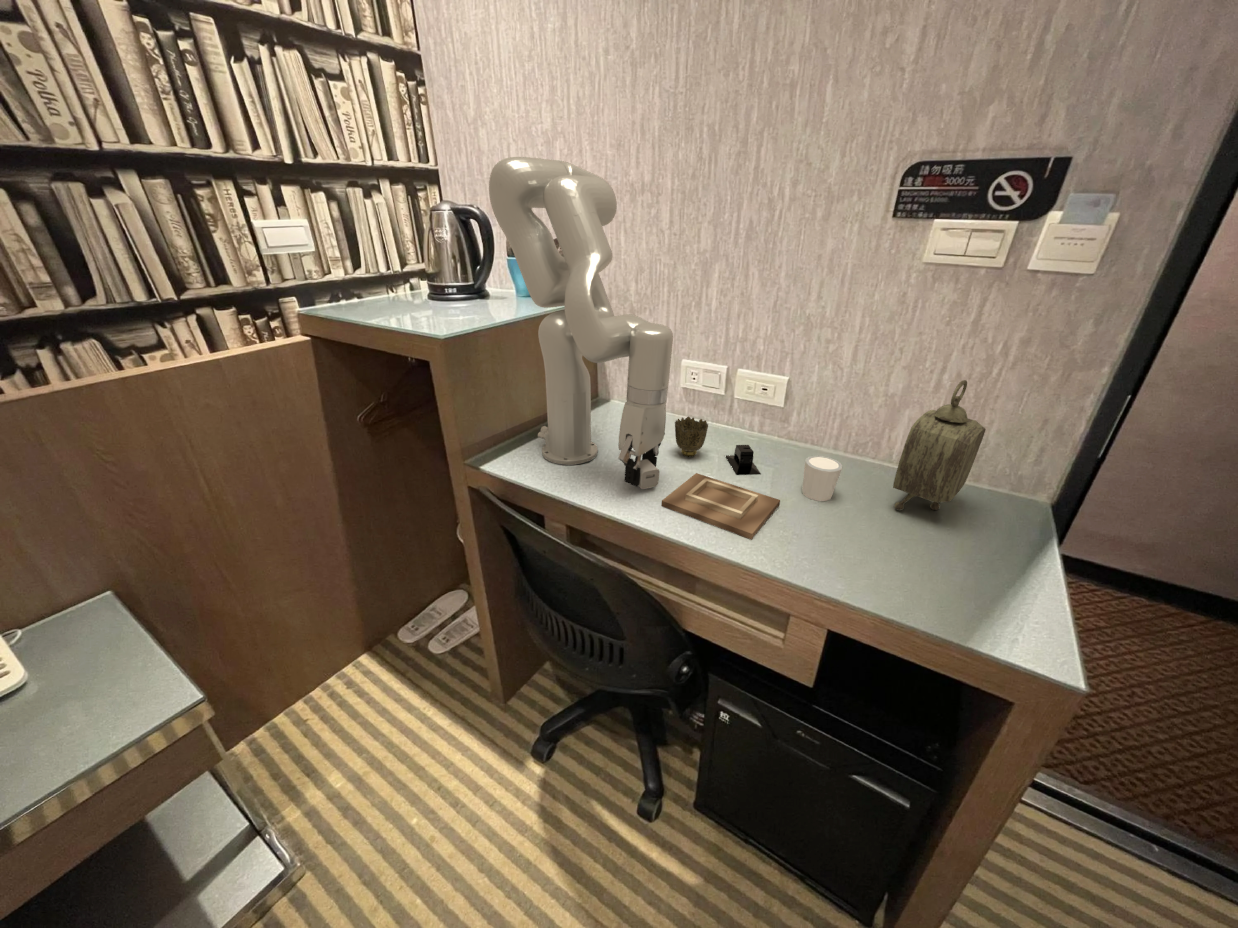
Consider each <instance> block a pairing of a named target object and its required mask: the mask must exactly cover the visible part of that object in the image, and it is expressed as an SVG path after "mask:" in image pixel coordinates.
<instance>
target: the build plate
mask: <svg viewBox="0 0 1238 928" xmlns="http://www.w3.org/2000/svg"><path fill="white" fill-rule="evenodd" d="M754 452H755V451H754V450H753V449H752V448H751V446H750V444H736V445H735V448H734V454H733V455H732V454H731V455H730V456H729V455H727V454H725V455H726V457H725V459H726V461H727V462H728V464H729V466H730V467H731V466H732V467H731V469H732V468H733V469H732V470H733V472H734V474H735V475H736V476H751V475H762V473H761V472H760V471H759V469H758V468H757V466H756V465H755V463H754V462H753V461H754ZM727 459H728V460H727Z"/></svg>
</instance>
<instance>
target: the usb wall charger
mask: <svg viewBox="0 0 1238 928" xmlns="http://www.w3.org/2000/svg"><path fill="white" fill-rule="evenodd" d="M638 468H641V469H640V482H639V486H638V487H640V489H641V490H645V489H651V488H654V487H655V488H656V487H658V485H659V480H660V479H659V478H660V472H661V471H660V469H659V468H657V466H656V467H655V466H654V465H653V464H652V463H651V462H650V461H649V460H648V459H645V460H642V459H641V460H640V464H639V467H638Z"/></svg>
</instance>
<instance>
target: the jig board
mask: <svg viewBox="0 0 1238 928" xmlns="http://www.w3.org/2000/svg"><path fill="white" fill-rule="evenodd" d="M780 503H781V499H779V498H775V497H772V496H770V495H769V496H768V495H766V494H763V493H760V492H756V491H753V490H750V489H747V488H744V487H741V486H738V485H735V484H732V483H729V482H726V481H722V480H719V479H716V478H713V477H709V476H706V475H704V474H701V473H698V472H695V473H694V474H693V475H692V476H691V477H689V478H687V480H685V481H684V482H683V483H682V484H681V485H679V486H678V487H677V488H675V490H673V491H672V492H670V494H668V495H667V496H666V497H664V498H663V499H662V500H661V507H663V508H665V509H668V510H671V511H674V512H676V513H679V514H681V515H684V516H687V517H689V518H692V519H694V520H697V521H701V522H703V523H706V524H709V525H711V526H712V527H713V526H714V527H716V528H719V529H721V530H725V531H727V532H730V533H733V534H735V535H738V536H741V537H743V538H746V539H748V540H752V539H753V538H754V537H755V536H756V535H757V533H758V532H759V531H760V530H761V528H762V527H763V526H764V525H765V523H766V522H767V521H768V520H769V519H770V518H771V516H772V515H773V514H774V513H775V512H776V510H777V509H778V508H779V507H780Z"/></svg>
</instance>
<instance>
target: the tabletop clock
mask: <svg viewBox="0 0 1238 928" xmlns="http://www.w3.org/2000/svg"><path fill="white" fill-rule="evenodd" d="M962 386H963V387H962ZM961 388H962V390H961V392H960V394H959V396H958V395H957V394H958V393H959V390H960V389H961ZM967 388H968V381H967V379H963V380H961V381H960V382H959V383H958V384H957V385H956V388H955V389H954V391H953V393H952V396H951V399H950V404H943V405H942V406H939V408H937V409H930V410H928V411H926V412H925V413H923V414H921V416H920V417H919V418H917V420H916V421H914V423H913V424H912V426H911V428H910V430H909V433H908V435H907V438H906V441H905V443H904V446H903V449H902V452H901V456H900V459H899V462H898V465H897V469H896V472H895V475H894V480H893V485H892V486H893V487H892V488H893V489H894V490H895V489H896V490H898V491H902V492H903V493H906V494H907V495H906V496H905V497H904V498H903V499H902V500H901V501H897V502H895V503H894V509H895V510H896V511H902V510H904V508H905V503H907V502H908V501H910V500H911V499H912V498H915V497H918V498H921V499H923V500H927V501H929V502H931V503H930V505H929V506H930V509H931V510H932V511H938V510H939V509H940V507H941V504H940V503H945V502H947V503H948V502H951V501H952V500H953V499H955V497H956V496H957V495H958V493H959V492H960V491H961V489H963V487H964V485H965V484H966V482H967V480H968V478H969V475H970V473H971V471H972V467H973V466H974V462H975V460H976V457H977V455H978V453H979V450H980V447H981V445H982V444H981V443H982V441H983V439H984V435H985V433H986V427H984V425H982V424H980V422H978V420H975V419H971V418H968V413H967V411H966V409H965V408H964V407H962V406H961V405H960V403H961V402H960V401H961V400H962V399H963V397H964V395H965V392H966V390H967Z"/></svg>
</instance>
